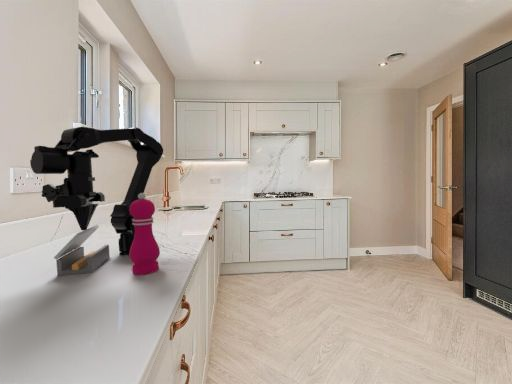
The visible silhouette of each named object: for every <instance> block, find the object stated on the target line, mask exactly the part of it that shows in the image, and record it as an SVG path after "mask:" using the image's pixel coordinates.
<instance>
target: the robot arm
mask: <svg viewBox="0 0 512 384" xmlns="http://www.w3.org/2000/svg"><path fill="white" fill-rule="evenodd" d="M60 136H61V137H60V140H59V141H58V142H57V143H56V145H55V146H54V147H52V146H51V147H49V146H45V145H35V146H34V151H33V153H32V155H31V159H30V161H29V163H30V167H31V168H30V169H31V170H32V172H33V173H34V174H36V175H51V174H52V175H59V174H60V175H61V174H62V175H63V174H65V173H66V171H67V177H64V179H63V183H62V184H60V185H54V184H53V183H48V184H45V185H42V189H41V197H43V198H45V199H46V200H47V202H48V203H51V202H52V207H53V209H54V208H55V209H57V208H65V209H67V210H69V211H70V212H72V213H73V215H74V218H75V220H76V221H77V224H78V225H79V227H80V230H81V231H84V230H86V229H88V227H89V225H90V223H91V220H92V218H93V216H94V213H95V211H96V209H97V207H98V206H99V203H94V202H105V201H106V200H105V199H106V196H105V194H104V193H103V192H101V191H100V192H97V191H94V182H96V177H93V169H92V168H93V167H92V165H93V164H92V159H97V158H100V155H99V154H98V153H96V152H95V151H94V150H93V149H89V148H92V147H95V146H98V145H101V144H104V143H113V142H115V143H116V142H123V141H124V142H125V141H127V142H129V143H130V146H131V148H132V149H133V150H134V151H135V152H136V155H135V156H136V161H137V163H136V164H137V165H136V167H135V170H134V173H133V176H132V177H131V181H130V183H129V186H128V189H127V191H126V194H125V197H124V200H123V201H122V202H121V204H114V206H113V208H112V209H113V210H112V212H111V214H110V215H109V217H111V218H110V224H111V226H112V227H113V228H114V230H115V233H116V234H119V239H118V252H119V255H129V254H130V248H131V245H132V243H133V240H134V236H135V227H134V225H133V224H132V223H133V221H132V220H133V219H134V218H133V216H132V215H131V214H130V211H129V209H130V205H131V204H132V203H133V202H134V201H136V200H139V198H138V195H139V194H140V193H144V194H145V190H146V188H147V185H148V181H149V179H150V175H151V172H152V170H153V167H155V165H156V164H157V163H159V162H160V160H161V158H162V156H163V154H164V148H163V146H162V144H161V142H159V141H157V140H156V139H155V138H154V137H153V136H151V135H148V134H147V133H146V132H144V131H143V130H142V129H141V128H139V127H136V126H135V127H129V128H115V129H113V128H112V129H98V128H95V127H87V126H78V127H72V128H69V129H64V130H63V132H62V133H61V135H60ZM82 149H83V150H84V149H85V151H80V150H82ZM86 149H87V150H86ZM69 152H73V153H72V154H71V153H69Z"/></svg>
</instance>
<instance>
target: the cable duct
mask: <svg viewBox="0 0 512 384" xmlns="http://www.w3.org/2000/svg"><path fill="white" fill-rule="evenodd" d="M84 248H85V247H84V246H80V247H78V248H76V249H75V250H73V251H71V252H69V253H67V254H66V255H64V256H62V257H60V258H58V259H55V260H56V273H57V276H67V275H77V274H88V273H93V272H95V271H96V270H97V269H98V268H99V267H101V265H103V264H104V263H106V262H107V260H108V259H110V258H111V257H110V245H109V244H104V245H103V246H101V247H99V248H98V249H97V250H95V251H94V250H93V251H90V252H89V253H87V254H85V249H84Z"/></svg>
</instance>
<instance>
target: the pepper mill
mask: <svg viewBox="0 0 512 384" xmlns="http://www.w3.org/2000/svg"><path fill="white" fill-rule="evenodd" d="M138 198H139V200H136V201H134V202H133V203H132V204H131V205H130V209H129V211H130V214H131V215H132V216H133V218H134V219H133V220H132V221H133V223H132V224H133V225H134V227H135V236H134V240H133V243H132V245H131V248H130V254H128V255H129V256H128V258H129V260H130V261H131V262H132V263H134V264H132V265H131V267H132V268H131V269H132V271H131V272H132V274H134V275H138V276H139V275H142V276H143V275H150V274H152V273H155V272H157V271H158V270H159V261H157V260H158V259H159V258H160V253H161V251H160V246H159V245H158V243H157V240H156V239H155V236H154V232H153V224H154V217H153V216H154V214H155V211H156V207H155V204H154V202H153V201H151V200H149V199H146V194H145V192H144V193H140V194H139V195H138Z"/></svg>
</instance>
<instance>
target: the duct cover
mask: <svg viewBox="0 0 512 384" xmlns="http://www.w3.org/2000/svg"><path fill="white" fill-rule="evenodd" d="M99 227H100V226H99V225H98V224H95V225H93V226H92V227H89V228H87V229H86V230H81V231H79V232H77V233H76V234H75V235H74V236H72V238H71V239H70V240H69V241H68V242H67V243H66V244H65V245H64V247H62V248H61V249H60V250H59V252H58V253H57V254H56V255H55V256H54V257H53V259H55V260H57V259H59V258H61V257H63V256H64V255H66V254H68V253H70V252H72V251H73V250H75V249H77V248H79V247H82V245H83V244H84V243H85V242H86V241H87V240H88V239H89V238H90V237H91V236H92V234H94V233H95V232H96V230H97V229H98V228H99Z"/></svg>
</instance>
